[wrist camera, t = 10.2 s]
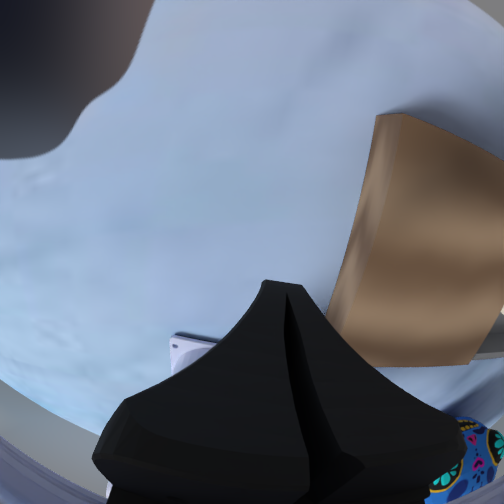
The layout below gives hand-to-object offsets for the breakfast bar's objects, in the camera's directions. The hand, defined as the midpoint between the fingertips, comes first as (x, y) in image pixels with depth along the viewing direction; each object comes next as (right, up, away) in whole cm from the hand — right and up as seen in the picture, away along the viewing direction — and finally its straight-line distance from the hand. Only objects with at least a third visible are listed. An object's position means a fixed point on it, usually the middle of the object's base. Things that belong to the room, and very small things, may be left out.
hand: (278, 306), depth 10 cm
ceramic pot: (+26, -25, +20) cm, 41 cm away
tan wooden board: (+13, +2, +8) cm, 15 cm away
